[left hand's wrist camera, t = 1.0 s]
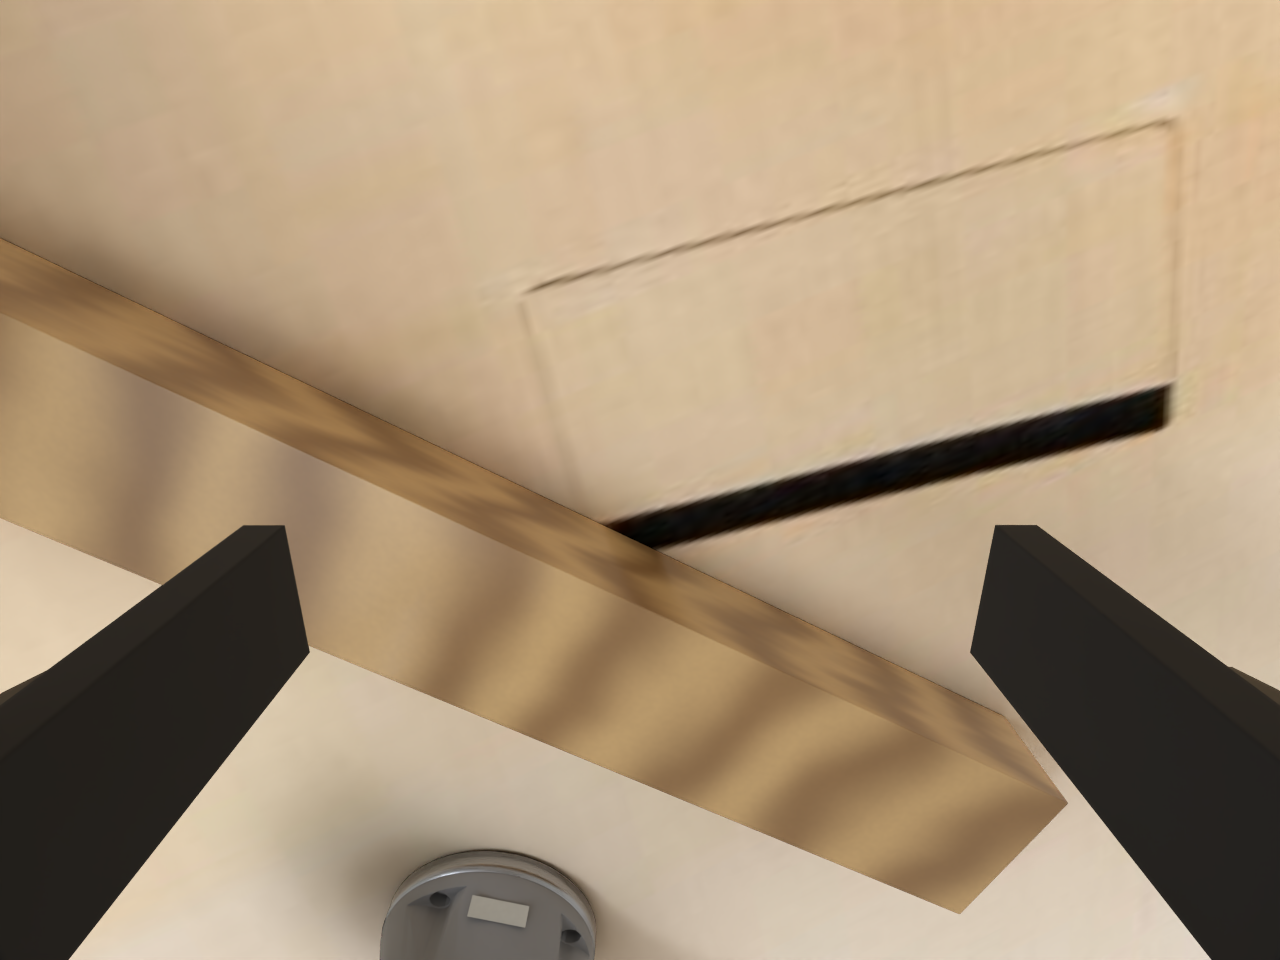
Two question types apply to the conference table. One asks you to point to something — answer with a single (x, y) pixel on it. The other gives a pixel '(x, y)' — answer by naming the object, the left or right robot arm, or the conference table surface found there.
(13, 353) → the beam
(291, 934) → the conference table surface
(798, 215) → the conference table surface
